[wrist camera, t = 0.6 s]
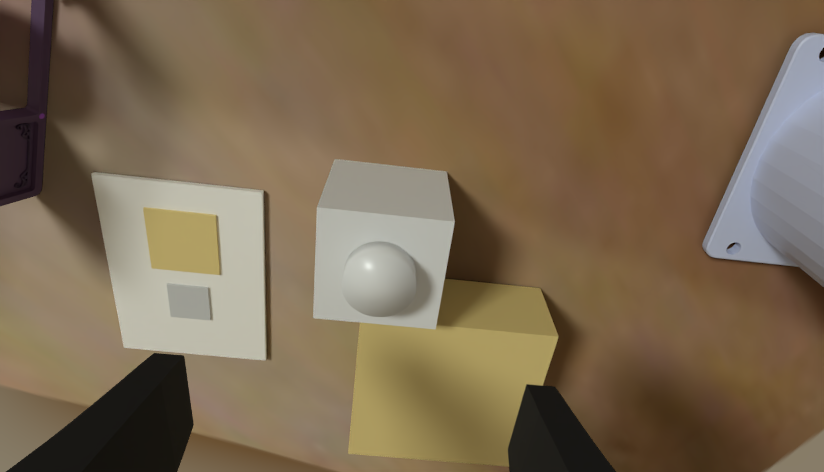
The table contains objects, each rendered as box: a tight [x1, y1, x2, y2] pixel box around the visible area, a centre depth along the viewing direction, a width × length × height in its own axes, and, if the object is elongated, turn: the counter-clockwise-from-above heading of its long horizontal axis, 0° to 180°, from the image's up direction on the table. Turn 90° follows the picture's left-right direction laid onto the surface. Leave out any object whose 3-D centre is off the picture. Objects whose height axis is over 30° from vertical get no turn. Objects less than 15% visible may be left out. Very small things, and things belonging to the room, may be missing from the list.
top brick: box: [313, 159, 455, 329], centre depth 17 cm, size 4×4×5 cm
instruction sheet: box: [91, 172, 267, 360], centre depth 21 cm, size 6×8×1 cm
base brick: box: [348, 279, 559, 467], centre depth 21 cm, size 7×7×3 cm
